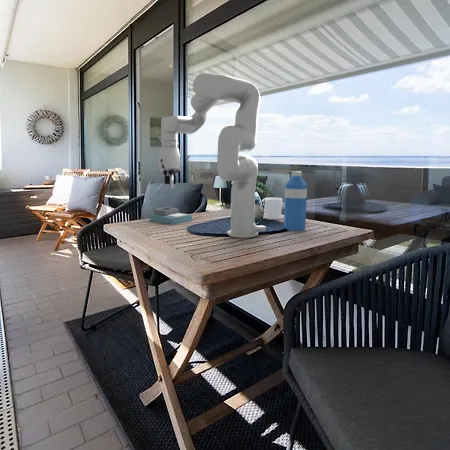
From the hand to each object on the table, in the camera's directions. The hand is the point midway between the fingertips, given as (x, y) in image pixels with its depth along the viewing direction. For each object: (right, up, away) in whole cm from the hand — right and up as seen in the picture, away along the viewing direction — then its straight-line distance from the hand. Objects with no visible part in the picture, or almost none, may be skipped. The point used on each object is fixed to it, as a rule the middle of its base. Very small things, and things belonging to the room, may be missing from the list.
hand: (170, 183), depth 164 cm
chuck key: (0, -3, +1) cm, 3 cm away
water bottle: (+57, -22, -14) cm, 63 cm away
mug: (+50, -17, +11) cm, 54 cm away
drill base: (-1, -18, +4) cm, 18 cm away
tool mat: (+3, -16, 0) cm, 16 cm away
